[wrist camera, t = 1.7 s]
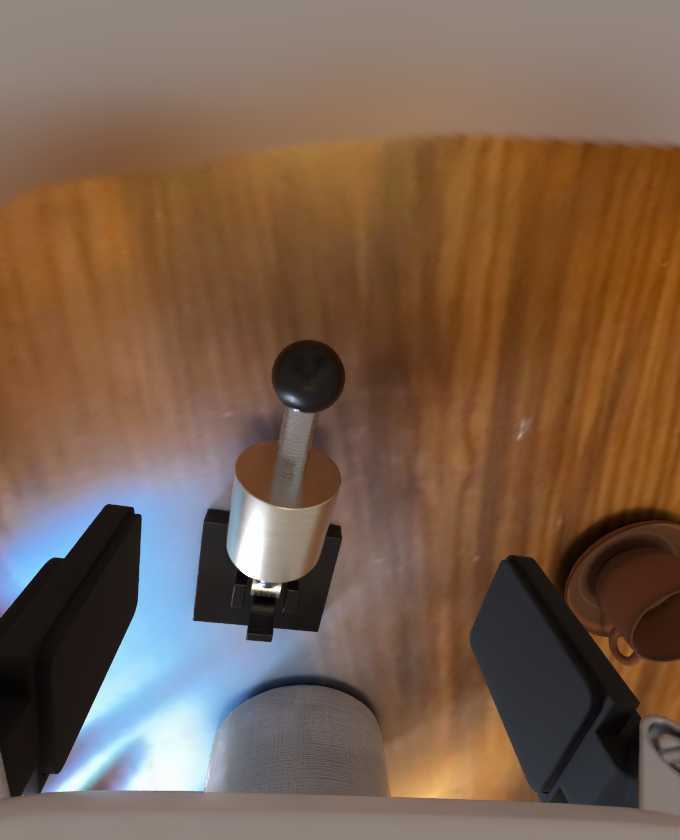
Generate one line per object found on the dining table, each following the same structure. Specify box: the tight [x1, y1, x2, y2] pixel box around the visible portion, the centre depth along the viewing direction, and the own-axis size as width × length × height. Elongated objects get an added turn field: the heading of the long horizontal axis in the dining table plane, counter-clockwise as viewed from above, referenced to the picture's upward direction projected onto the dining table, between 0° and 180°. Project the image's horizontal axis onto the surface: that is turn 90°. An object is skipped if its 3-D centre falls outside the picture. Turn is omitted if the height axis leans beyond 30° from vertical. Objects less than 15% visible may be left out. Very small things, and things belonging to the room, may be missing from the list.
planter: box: [204, 685, 391, 797], centre depth 34 cm, size 16×16×16 cm
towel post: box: [226, 340, 345, 598], centre depth 25 cm, size 6×6×19 cm
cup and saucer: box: [564, 520, 680, 666], centre depth 34 cm, size 12×12×6 cm
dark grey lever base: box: [193, 509, 342, 642], centre depth 30 cm, size 10×10×7 cm
